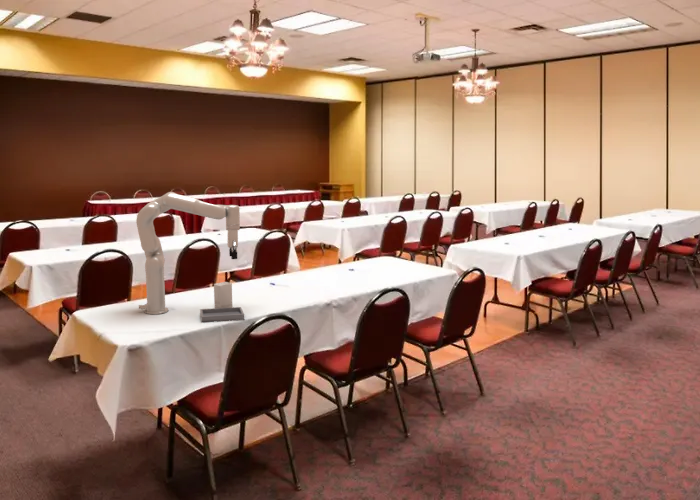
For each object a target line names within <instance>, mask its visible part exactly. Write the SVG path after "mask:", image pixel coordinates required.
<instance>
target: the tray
mask: <svg viewBox="0 0 700 500" xmlns="http://www.w3.org/2000/svg"><path fill="white" fill-rule="evenodd" d="M199 312H200V313H199V314H200V321H201V323H211V322H213V323H214V321H217V322H230V321H232V320H233V321H244V320H245V313H244V311H243V309H242V307H241V306H236V307H235V306H234V307H233V306H232V308H215V307H214V308H200V309H199ZM229 320H230V321H229Z"/></svg>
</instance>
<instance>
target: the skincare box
mask: <svg viewBox="0 0 700 500" xmlns="http://www.w3.org/2000/svg"><path fill="white" fill-rule="evenodd" d="M213 294H214V295H213V297H214V304H213V305H214V308H232V307H233V284H232V282H228V281H222V282H218V283H217V282H216V283H213Z"/></svg>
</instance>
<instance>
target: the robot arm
mask: <svg viewBox="0 0 700 500" xmlns="http://www.w3.org/2000/svg"><path fill="white" fill-rule="evenodd" d="M169 210H174V211H180V212H184V213H187V214H192V215H198V216H201V217H203V218H209V219H212V220H218V221H219V220H223V219H224V218H225V230H226V231H227V247H228V248H229V249H228V250H229V254H228V255H229V257H231V260H237V259H238V248H239V247H238V245H239V233H238V232H239V231H240V230H241V229H240V228H241V227H240V226H241V225H240V206H239V205H238V204H237V205H236V204H229V205H226V204H212V203H208V202H205V201H202V200H200V199H198V198H195V197H192V196H187V195H182V194H179V193H176V192H173V191H168V192H166V193H164V194H163V195H162V196H159V197H157V198H156V199H154V200H151V201H150V202H148V203H147V204H146V205H144V207H142V208H141V209H140V210H139V212H138V213H137V214H136V215H137V216H136V218H135V219H136V220H135V221H136V222H135V223H136V227H137V232H138V237H139V242H140V247H141V249H142V251H144V255H145V259H146V260H145V263H144V268H145V269H144V270H145V282H146V283H145V284H146V285H145V286H146V304H139V305H138V310H144V313H145V314H147V315H162V314H166V313H168V312H169V308H168V307H167V306H166V291H165V288H166V287H165V285H166V283H165V261H166V260H165V255H164V252H163V249H162V243H161V240H160V238H159V236H157V235H156V231H155V230H156V229H155V225H154V220H155V219H156V218H158V217H159V216H160V215H162V214H163V213H165V212H168V211H169Z"/></svg>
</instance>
